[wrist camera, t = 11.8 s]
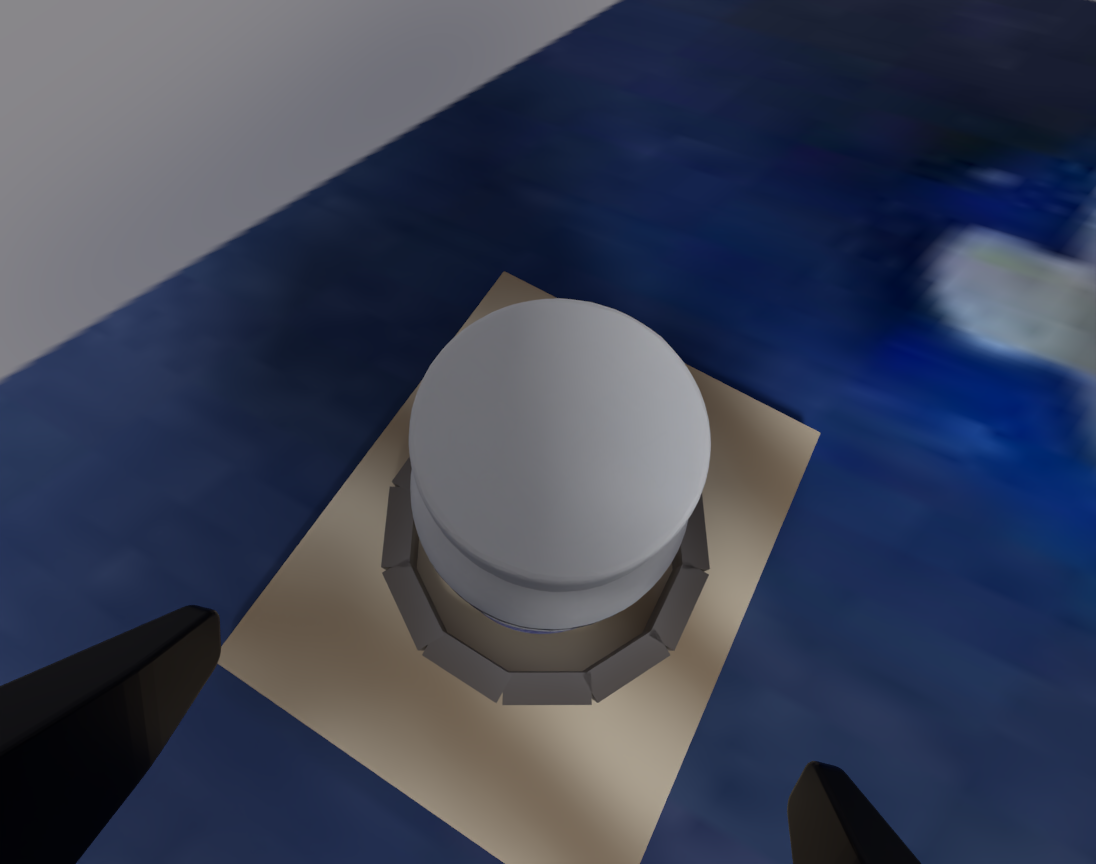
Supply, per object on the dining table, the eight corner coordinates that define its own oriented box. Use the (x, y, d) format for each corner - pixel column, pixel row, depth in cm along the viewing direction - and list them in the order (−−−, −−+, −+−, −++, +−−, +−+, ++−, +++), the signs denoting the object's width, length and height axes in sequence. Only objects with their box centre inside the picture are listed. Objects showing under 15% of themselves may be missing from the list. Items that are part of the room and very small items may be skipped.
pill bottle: (449, 459, 19) (380, 270, 9) (619, 451, 19) (715, 262, 10) (449, 643, 17) (361, 637, 7) (640, 630, 17) (786, 607, 8)
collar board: (603, 918, 15) (616, 960, 13) (228, 659, 17) (188, 659, 15) (807, 442, 20) (838, 419, 18) (504, 286, 22) (503, 250, 20)
